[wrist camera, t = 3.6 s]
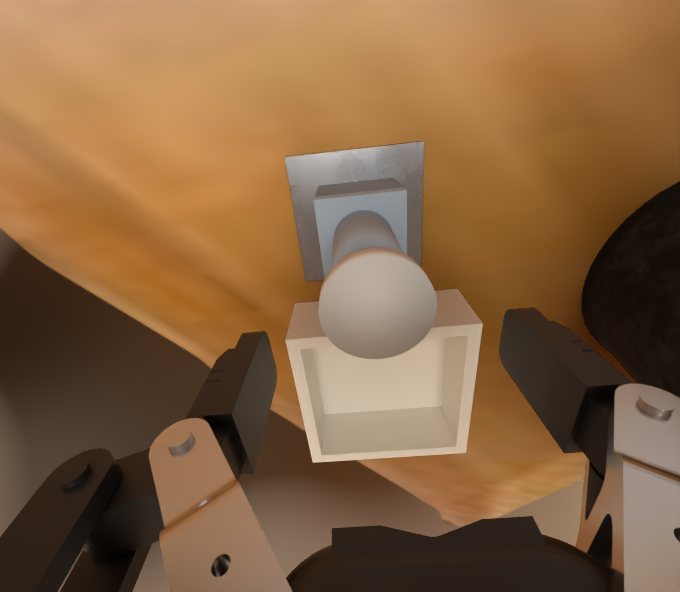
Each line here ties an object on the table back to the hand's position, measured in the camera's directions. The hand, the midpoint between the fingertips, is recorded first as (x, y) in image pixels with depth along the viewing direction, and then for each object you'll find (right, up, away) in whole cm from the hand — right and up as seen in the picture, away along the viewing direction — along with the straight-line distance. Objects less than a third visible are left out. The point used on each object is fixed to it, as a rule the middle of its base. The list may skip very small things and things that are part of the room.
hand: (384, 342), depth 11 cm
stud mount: (0, +8, +15) cm, 17 cm away
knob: (0, +8, +14) cm, 16 cm away
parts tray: (+3, -5, +22) cm, 22 cm away
